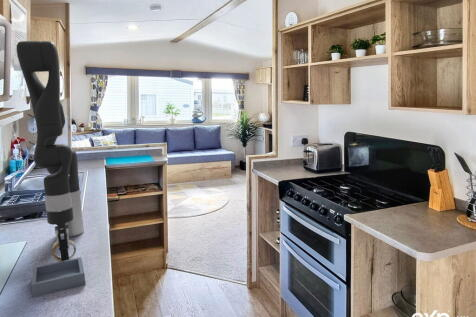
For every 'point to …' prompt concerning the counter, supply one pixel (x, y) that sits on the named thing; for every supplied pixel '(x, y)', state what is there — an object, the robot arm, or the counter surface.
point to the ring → (58, 245)
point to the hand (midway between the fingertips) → (65, 256)
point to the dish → (57, 276)
